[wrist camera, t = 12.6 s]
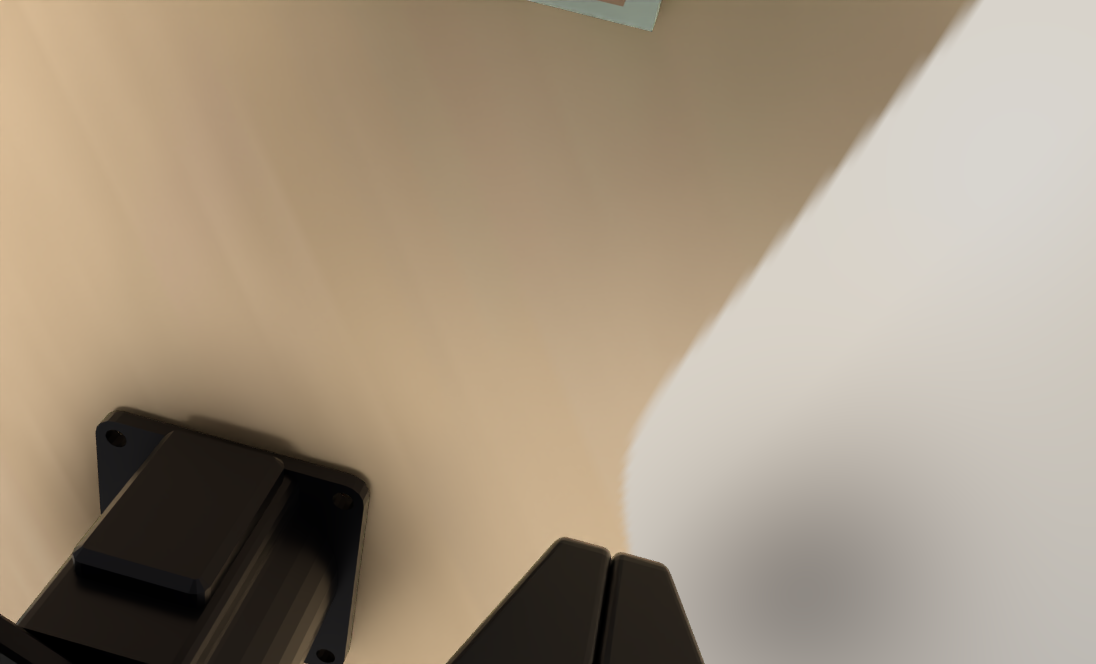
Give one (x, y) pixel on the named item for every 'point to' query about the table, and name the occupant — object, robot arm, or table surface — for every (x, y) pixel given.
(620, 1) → the plank
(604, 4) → the underlay base
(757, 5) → the table surface
